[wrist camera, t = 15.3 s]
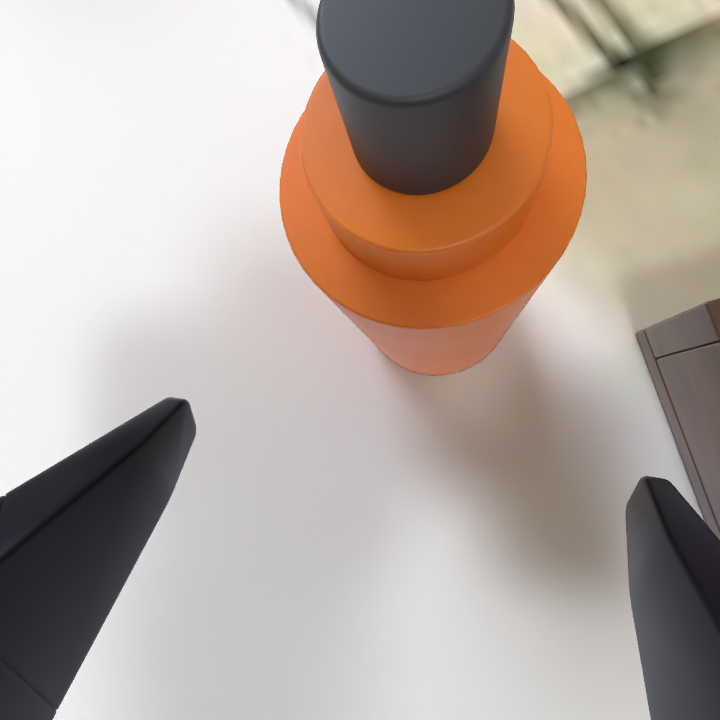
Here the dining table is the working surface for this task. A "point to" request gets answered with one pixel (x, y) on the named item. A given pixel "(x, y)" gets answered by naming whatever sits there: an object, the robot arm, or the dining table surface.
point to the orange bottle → (430, 176)
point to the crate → (691, 394)
